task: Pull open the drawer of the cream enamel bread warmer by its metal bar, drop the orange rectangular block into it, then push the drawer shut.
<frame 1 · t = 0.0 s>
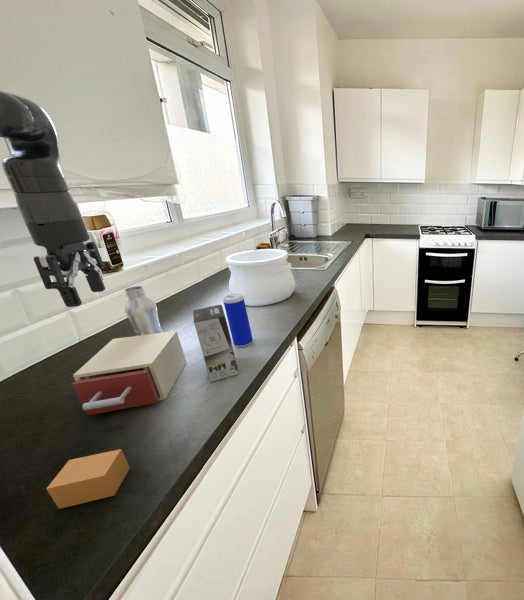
hand: (87, 298, 64), 23 cm above the countertop, tool pointing down, fingers open, 8 cm apart
coffee box: (223, 370, 80), on the countertop
cabinet: (144, 384, 75), on the countertop
beverage can: (243, 343, 93), on the countertop
pot: (265, 297, 128), on the countertop
orange rectangular block: (96, 487, 50), on the countertop
bread drawer: (127, 380, 69), point 5 cm above the countertop, slide at 0.8 cm
plastic bottle: (157, 356, 87), on the countertop
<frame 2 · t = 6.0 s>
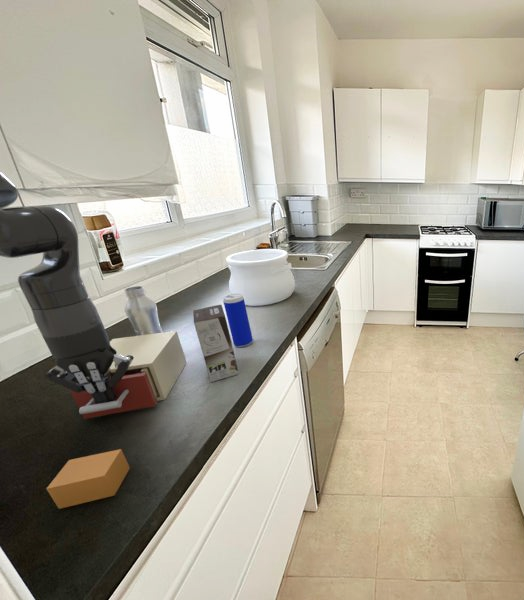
hand: (108, 404, 61), 5 cm above the countertop, tool pointing down, fingers closed
bread drawer: (125, 383, 68), point 5 cm above the countertop, slide at 1.9 cm, touching gripper
everything else where it was.
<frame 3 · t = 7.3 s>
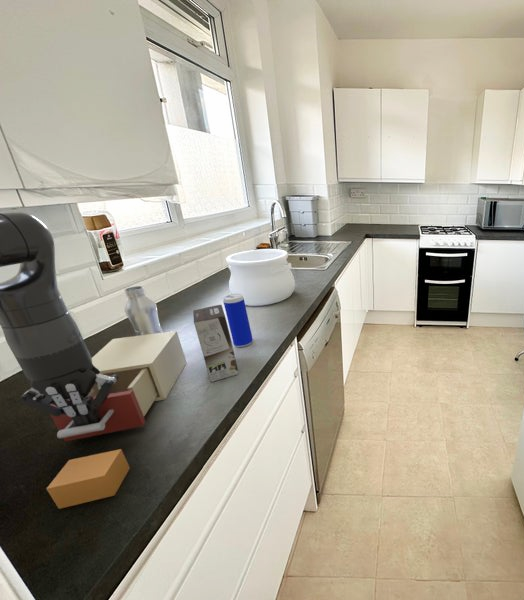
hand: (91, 427, 56), 5 cm above the countertop, tool pointing down, fingers closed
bread drawer: (110, 401, 62), point 5 cm above the countertop, slide at 7.9 cm, touching gripper
everything else where it was.
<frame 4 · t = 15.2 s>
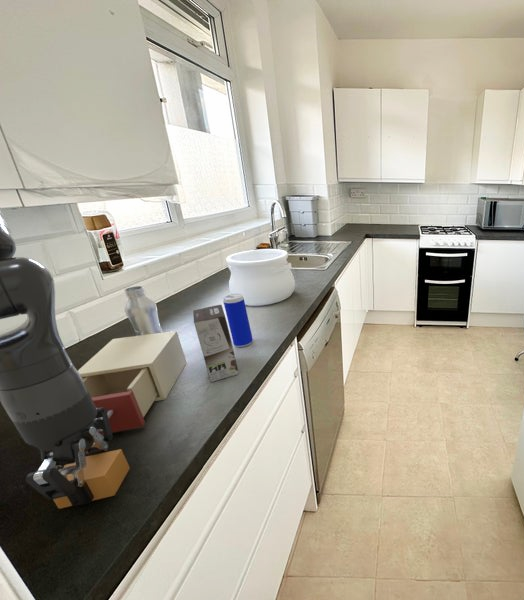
hand: (95, 485, 50), 0 cm above the countertop, tool pointing down, fingers closed on orange rectangular block, 5 cm apart
orange rectangular block: (96, 487, 50), on the countertop, touching gripper
bread drawer: (110, 401, 62), point 5 cm above the countertop, slide at 8.1 cm
everything else where it was.
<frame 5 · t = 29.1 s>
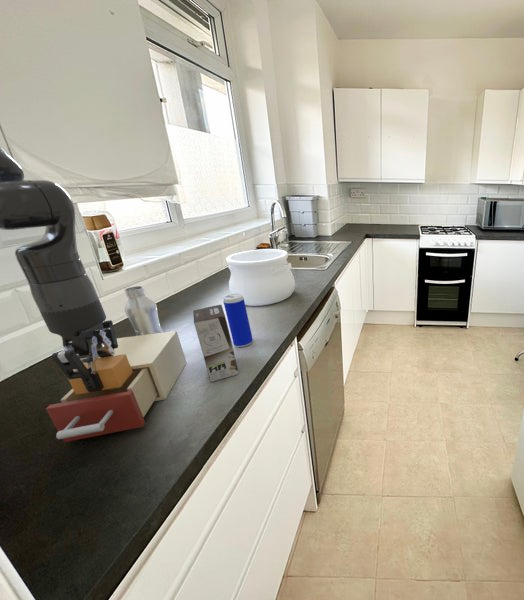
hand: (104, 381, 61), 9 cm above the countertop, tool pointing down, fingers closed on orange rectangular block, 5 cm apart
orange rectangular block: (105, 382, 61), point 9 cm above the countertop, touching gripper
everything else where it was.
when the fingers open (12 cm above the countertop, at t = 36.3 s): orange rectangular block drops 9 cm, resting on bread drawer.
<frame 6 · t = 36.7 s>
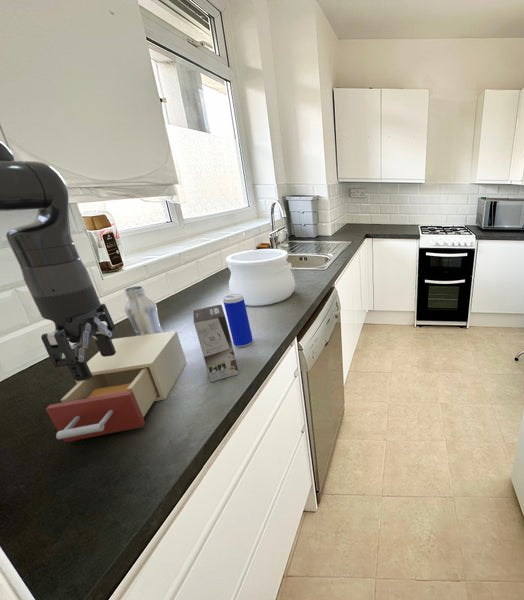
hand: (97, 366, 60), 13 cm above the countertop, tool pointing down, fingers open, 8 cm apart
orange rectangular block: (116, 410, 64), point 2 cm above the countertop, touching bread drawer
bread drawer: (110, 401, 62), point 5 cm above the countertop, slide at 8.1 cm, touching orange rectangular block
everything else where it was.
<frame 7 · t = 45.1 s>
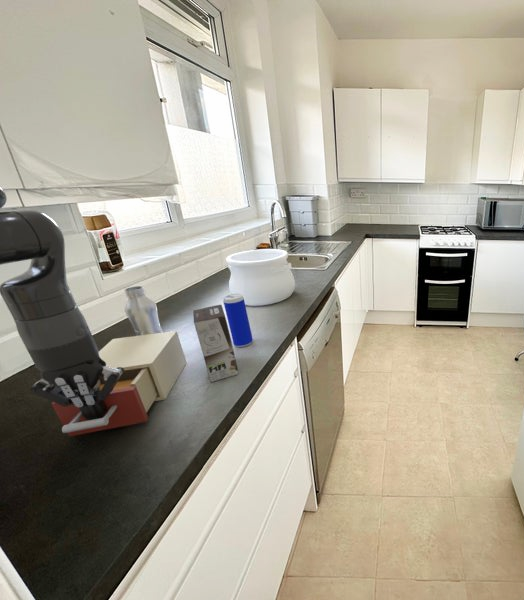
hand: (97, 418, 58), 5 cm above the countertop, tool pointing down, fingers closed
orange rectangular block: (120, 406, 65), point 2 cm above the countertop, touching bread drawer
bread drawer: (114, 397, 63), point 5 cm above the countertop, slide at 6.7 cm, touching orange rectangular block, gripper
everything else where it was.
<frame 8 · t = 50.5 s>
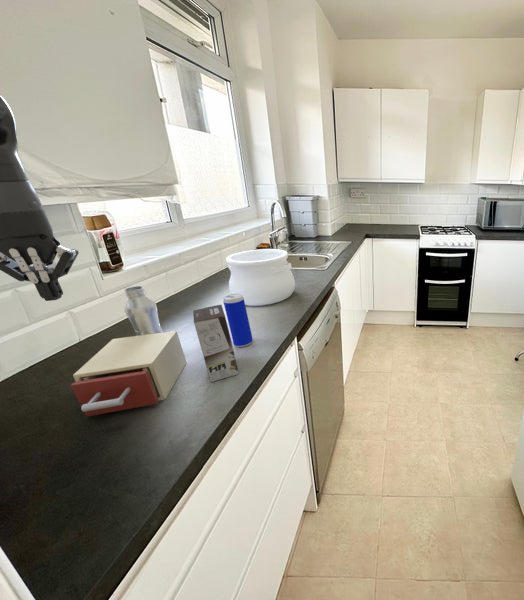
hand: (53, 299, 62), 24 cm above the countertop, tool pointing down, fingers closed
orange rectangular block: (132, 390, 70), point 2 cm above the countertop, touching bread drawer
bread drawer: (126, 381, 68), point 5 cm above the countertop, slide at 1.2 cm, touching orange rectangular block
everything else where it was.
at the end: bread drawer pulled out 8.1 cm at the most during the clip, back to 1.2 cm at the end; orange rectangular block inside the target area in the cabinet (4.8 cm from its centre), point 2.0 cm above the cabinet's base; bread drawer slide at 1.2 cm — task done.
